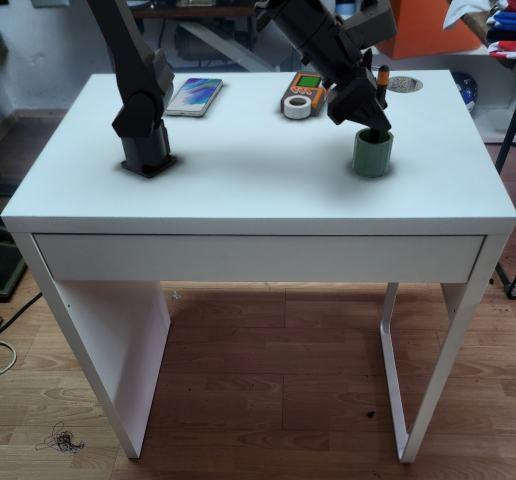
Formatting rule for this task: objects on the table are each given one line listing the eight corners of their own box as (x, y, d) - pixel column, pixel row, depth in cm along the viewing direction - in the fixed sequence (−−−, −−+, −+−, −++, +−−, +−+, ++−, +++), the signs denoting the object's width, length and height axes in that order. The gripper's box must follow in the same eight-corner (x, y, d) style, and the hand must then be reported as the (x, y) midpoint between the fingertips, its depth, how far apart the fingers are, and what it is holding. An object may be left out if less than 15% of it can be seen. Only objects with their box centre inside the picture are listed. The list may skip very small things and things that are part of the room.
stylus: (372, 168, 75) (387, 67, 65) (363, 165, 76) (376, 65, 65) (377, 164, 76) (392, 64, 65) (368, 161, 77) (382, 61, 66)
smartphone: (163, 110, 90) (188, 77, 99) (164, 115, 90) (189, 82, 100) (201, 112, 88) (223, 78, 98) (202, 117, 89) (224, 83, 99)
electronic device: (276, 104, 86) (298, 67, 95) (276, 121, 89) (298, 83, 98) (315, 108, 85) (333, 70, 94) (314, 125, 87) (332, 86, 96)
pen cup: (377, 181, 74) (382, 148, 70) (345, 170, 76) (348, 138, 72) (394, 165, 76) (400, 133, 73) (362, 155, 79) (367, 124, 75)
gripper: (367, -3, 52) (449, 106, 60) (360, -45, 65) (428, 50, 72) (290, 77, 59) (373, 167, 66) (297, 25, 71) (366, 105, 78)
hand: (387, 118), depth 71 cm, fingers open, 6 cm apart
